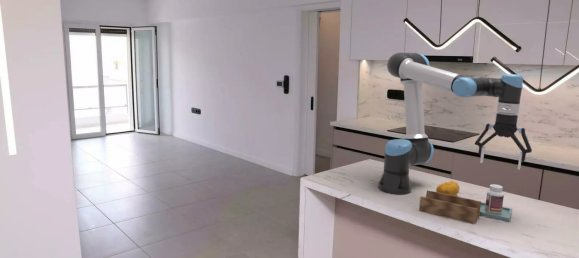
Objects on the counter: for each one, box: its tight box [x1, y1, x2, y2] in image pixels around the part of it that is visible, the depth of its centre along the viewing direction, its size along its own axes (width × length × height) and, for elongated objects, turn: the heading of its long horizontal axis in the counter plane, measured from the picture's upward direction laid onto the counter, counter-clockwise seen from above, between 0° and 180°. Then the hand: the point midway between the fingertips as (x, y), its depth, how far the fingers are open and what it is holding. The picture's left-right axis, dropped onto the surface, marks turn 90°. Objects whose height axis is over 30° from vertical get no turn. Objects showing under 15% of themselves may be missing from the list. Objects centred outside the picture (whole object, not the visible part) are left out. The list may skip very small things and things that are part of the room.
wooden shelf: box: [418, 189, 482, 225], centre depth 164 cm, size 21×10×6 cm, turn 57°
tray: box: [479, 201, 513, 222], centre depth 166 cm, size 13×13×2 cm
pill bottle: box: [485, 183, 505, 214], centre depth 165 cm, size 6×6×11 cm
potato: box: [435, 180, 460, 196], centre depth 182 cm, size 7×14×7 cm, turn 128°
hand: (499, 165), depth 162 cm, fingers open, 13 cm apart
